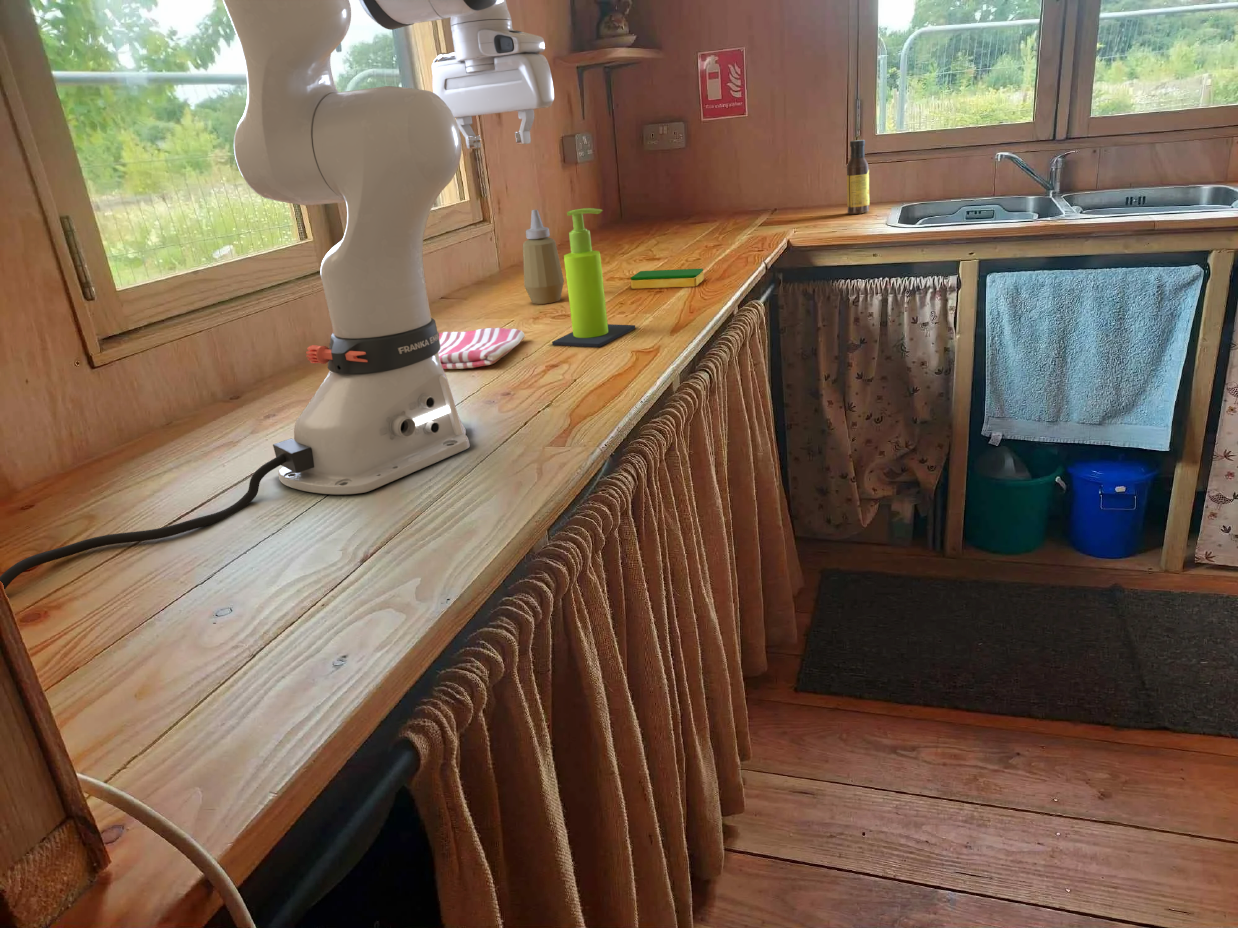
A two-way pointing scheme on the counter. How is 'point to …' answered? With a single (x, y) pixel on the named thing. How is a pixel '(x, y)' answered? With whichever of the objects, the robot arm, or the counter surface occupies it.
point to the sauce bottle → (857, 179)
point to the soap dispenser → (585, 280)
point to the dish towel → (476, 347)
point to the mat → (599, 341)
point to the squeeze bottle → (541, 264)
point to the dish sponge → (667, 278)
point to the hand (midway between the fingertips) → (498, 146)
